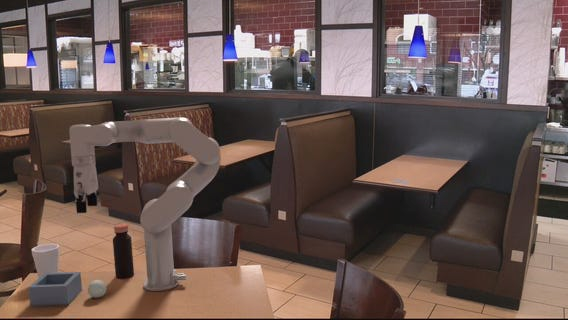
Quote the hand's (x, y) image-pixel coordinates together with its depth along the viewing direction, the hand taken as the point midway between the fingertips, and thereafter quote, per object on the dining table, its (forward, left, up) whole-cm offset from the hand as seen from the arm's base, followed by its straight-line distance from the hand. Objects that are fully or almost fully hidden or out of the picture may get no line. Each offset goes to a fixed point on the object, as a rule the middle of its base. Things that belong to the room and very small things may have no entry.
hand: (87, 209), depth 179 cm
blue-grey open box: (+11, +6, -30) cm, 32 cm away
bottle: (-7, -13, -30) cm, 34 cm away
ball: (-3, +6, -27) cm, 28 cm away
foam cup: (+21, -11, -30) cm, 38 cm away
